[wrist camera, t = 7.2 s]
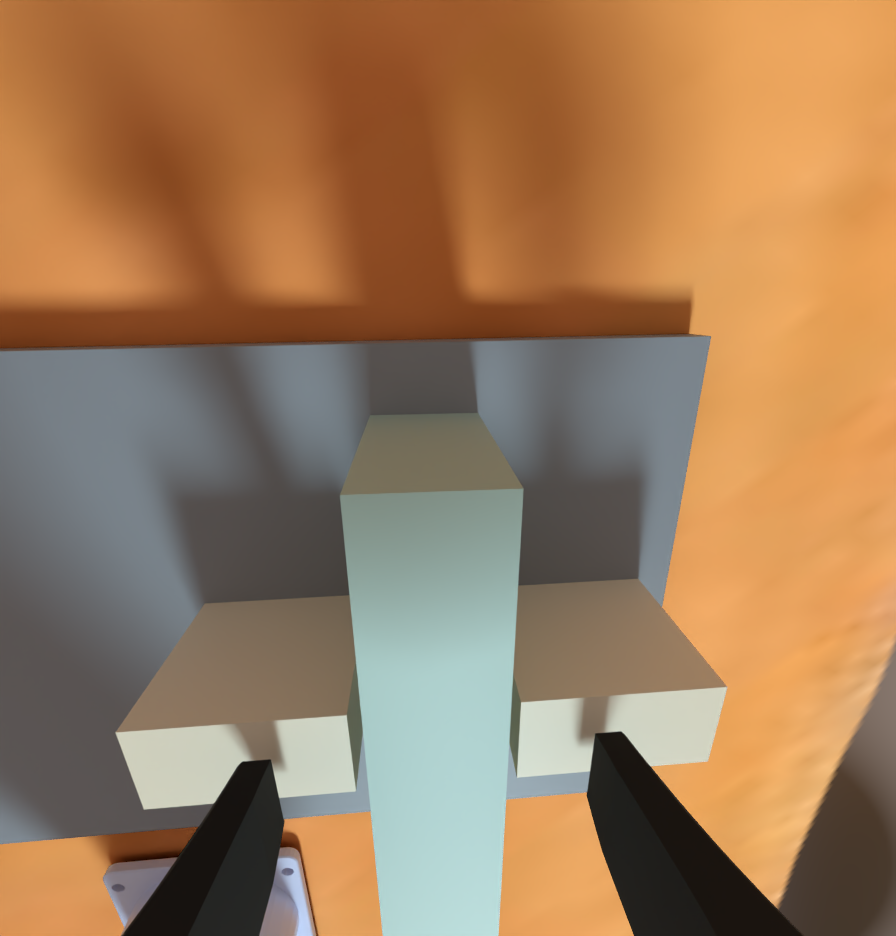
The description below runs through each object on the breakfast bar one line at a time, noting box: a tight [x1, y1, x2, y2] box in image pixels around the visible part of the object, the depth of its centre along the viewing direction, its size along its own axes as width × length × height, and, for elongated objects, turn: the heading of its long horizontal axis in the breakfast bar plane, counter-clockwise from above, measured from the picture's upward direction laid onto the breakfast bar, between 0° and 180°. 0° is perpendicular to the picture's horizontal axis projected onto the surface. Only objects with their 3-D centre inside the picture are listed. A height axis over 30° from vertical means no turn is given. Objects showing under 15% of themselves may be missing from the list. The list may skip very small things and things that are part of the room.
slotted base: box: [0, 334, 727, 844], centre depth 13 cm, size 18×26×6 cm
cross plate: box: [340, 413, 524, 936], centre depth 12 cm, size 14×3×6 cm, turn 0°
